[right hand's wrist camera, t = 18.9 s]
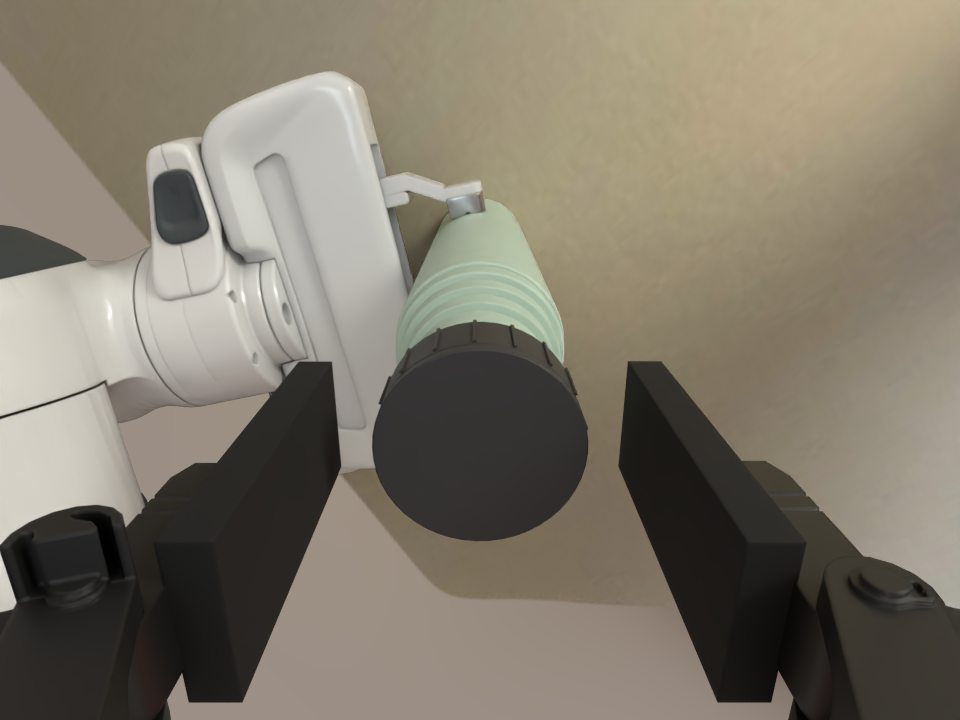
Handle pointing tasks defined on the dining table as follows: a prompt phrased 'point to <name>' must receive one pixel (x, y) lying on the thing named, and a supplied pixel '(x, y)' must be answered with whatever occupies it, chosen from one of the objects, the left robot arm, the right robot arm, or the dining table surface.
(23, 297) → the left robot arm
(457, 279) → the bottle
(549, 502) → the cap
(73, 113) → the dining table surface
